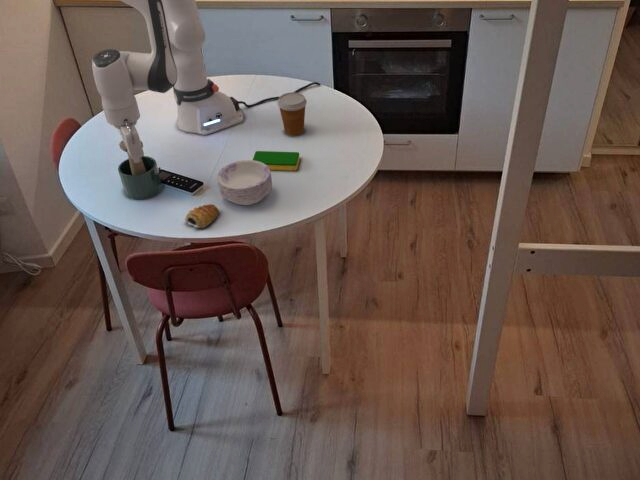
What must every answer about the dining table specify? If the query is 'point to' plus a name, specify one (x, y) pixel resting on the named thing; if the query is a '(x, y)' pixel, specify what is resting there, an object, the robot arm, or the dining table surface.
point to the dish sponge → (278, 159)
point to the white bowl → (244, 181)
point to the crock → (140, 179)
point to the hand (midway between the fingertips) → (134, 156)
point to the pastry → (202, 216)
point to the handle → (135, 167)
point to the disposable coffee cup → (292, 112)
